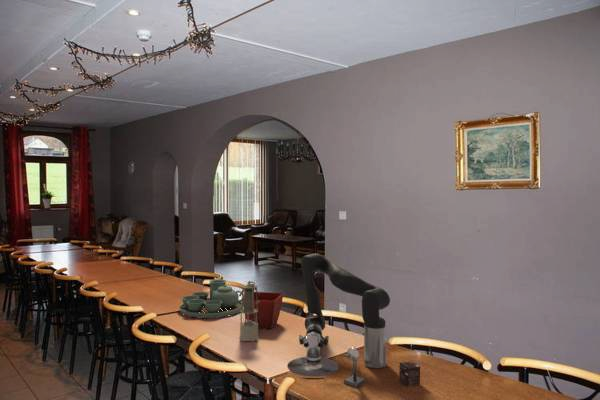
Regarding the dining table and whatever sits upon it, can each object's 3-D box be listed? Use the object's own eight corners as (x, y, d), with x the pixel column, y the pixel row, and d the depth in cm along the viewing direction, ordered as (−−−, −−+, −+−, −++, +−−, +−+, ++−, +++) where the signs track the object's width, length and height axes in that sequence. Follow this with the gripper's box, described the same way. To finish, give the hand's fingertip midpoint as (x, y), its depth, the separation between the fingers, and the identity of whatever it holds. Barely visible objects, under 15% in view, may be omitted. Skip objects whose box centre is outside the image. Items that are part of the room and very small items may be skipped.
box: (398, 380, 185) (399, 362, 184) (411, 378, 187) (411, 360, 187) (407, 386, 179) (407, 368, 179) (420, 384, 181) (420, 366, 181)
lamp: (252, 334, 243) (252, 278, 242) (266, 340, 233) (266, 282, 232) (235, 338, 236) (235, 280, 236) (248, 345, 226) (248, 284, 226)
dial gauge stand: (365, 382, 182) (365, 346, 182) (356, 387, 178) (357, 350, 177) (346, 376, 188) (346, 341, 188) (338, 381, 184) (338, 345, 183)
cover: (320, 356, 206) (320, 330, 206) (320, 362, 200) (320, 335, 200) (306, 356, 207) (306, 330, 206) (305, 361, 200) (305, 334, 200)
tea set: (174, 306, 301) (174, 282, 300) (232, 300, 318) (232, 277, 318) (186, 322, 265) (186, 294, 265) (251, 314, 282) (251, 288, 282)
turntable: (337, 359, 206) (337, 356, 206) (339, 380, 184) (339, 376, 184) (289, 358, 207) (289, 355, 207) (285, 378, 185) (285, 375, 185)
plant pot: (241, 329, 252) (241, 298, 252) (252, 319, 271) (252, 291, 271) (274, 331, 248) (274, 300, 247) (283, 321, 266) (283, 293, 266)
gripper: (299, 325, 218) (297, 336, 201) (329, 326, 217) (329, 337, 200) (299, 341, 218) (297, 353, 201) (329, 341, 217) (329, 354, 200)
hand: (313, 345), depth 201 cm, fingers closed on cover, 6 cm apart
